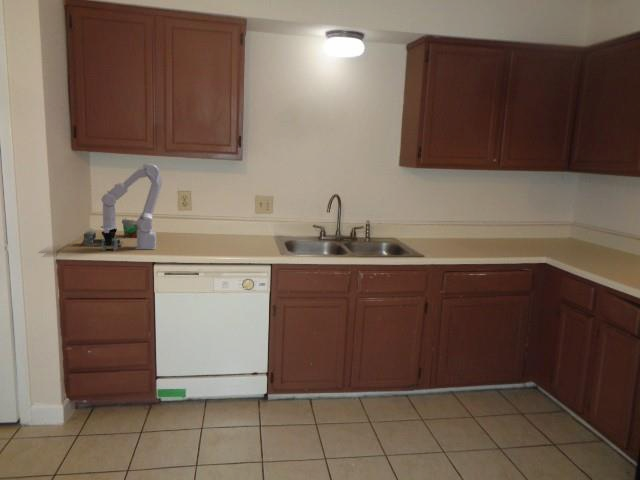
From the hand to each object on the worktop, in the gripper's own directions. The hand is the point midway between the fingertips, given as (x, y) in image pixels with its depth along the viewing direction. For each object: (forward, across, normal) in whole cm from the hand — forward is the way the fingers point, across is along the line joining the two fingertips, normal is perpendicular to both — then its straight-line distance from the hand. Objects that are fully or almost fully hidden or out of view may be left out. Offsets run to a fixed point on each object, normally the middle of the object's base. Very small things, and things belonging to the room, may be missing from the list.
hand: (109, 244), depth 248 cm
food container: (+3, -33, +4) cm, 34 cm away
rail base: (+3, -11, -6) cm, 13 cm away
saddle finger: (+3, 0, 0) cm, 3 cm away
